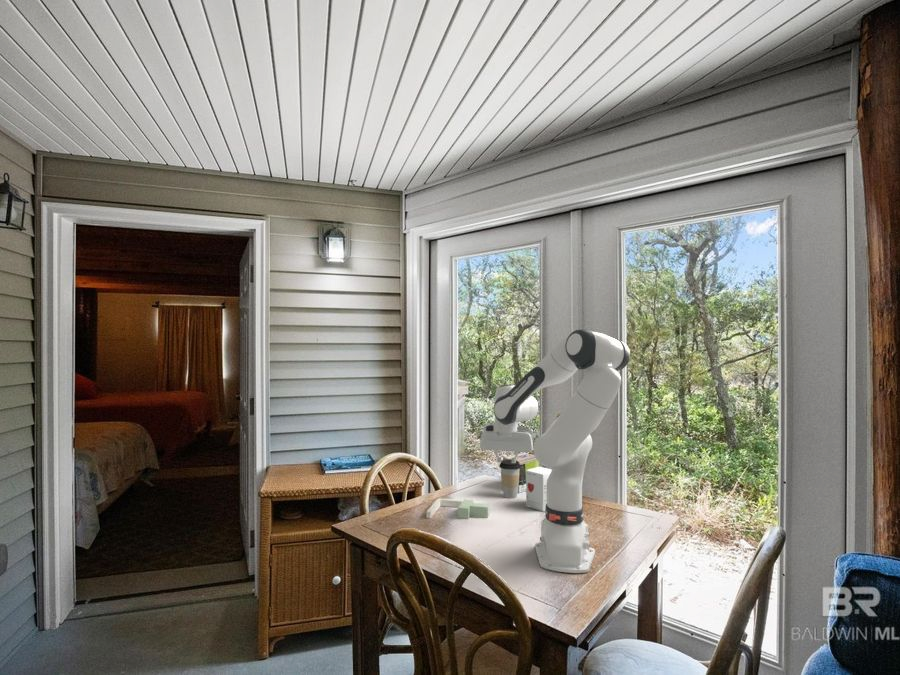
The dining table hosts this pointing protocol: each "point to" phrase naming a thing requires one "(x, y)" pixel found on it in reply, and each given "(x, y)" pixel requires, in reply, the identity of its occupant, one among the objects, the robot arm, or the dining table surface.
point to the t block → (472, 509)
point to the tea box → (524, 467)
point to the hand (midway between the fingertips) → (506, 462)
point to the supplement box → (537, 487)
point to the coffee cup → (510, 478)
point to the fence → (442, 502)
